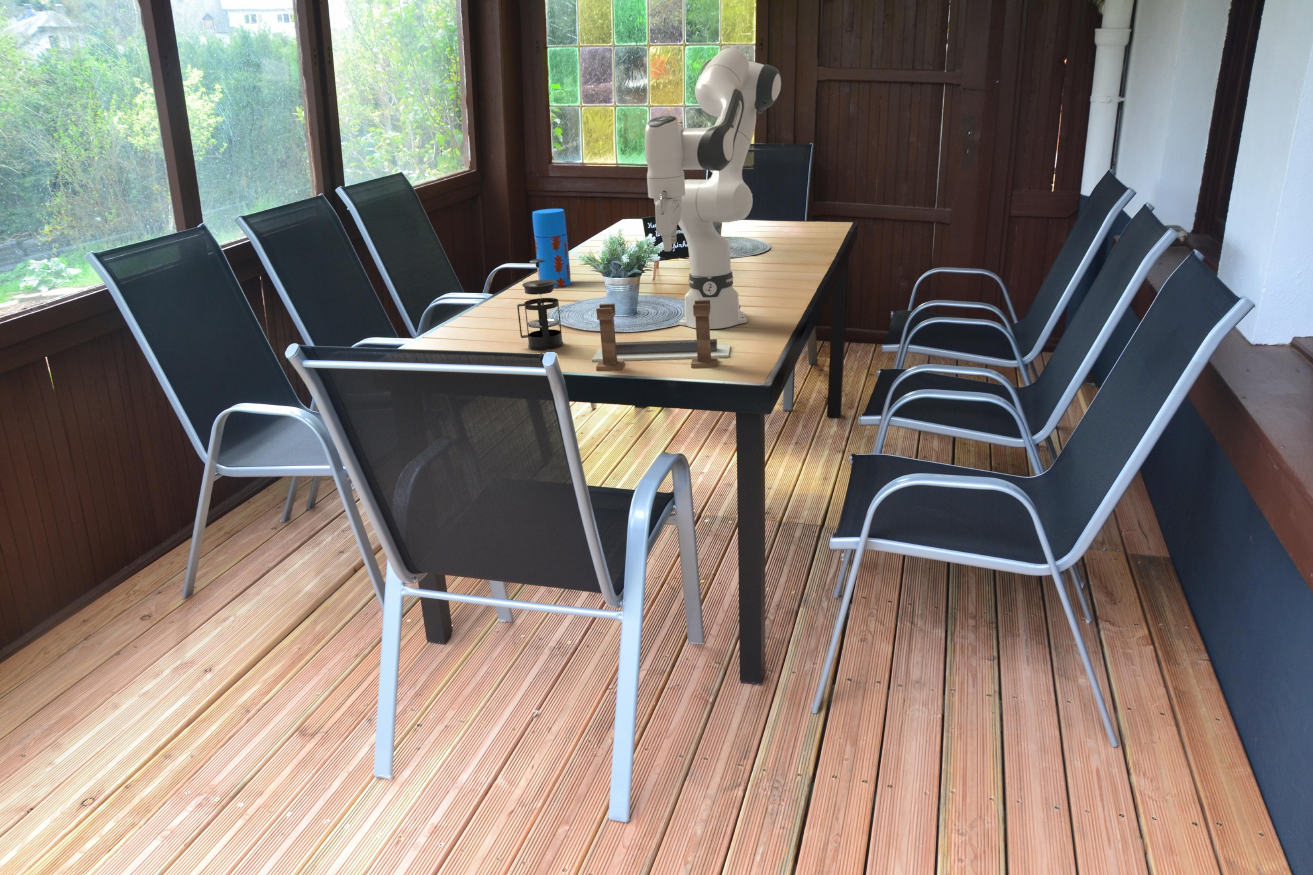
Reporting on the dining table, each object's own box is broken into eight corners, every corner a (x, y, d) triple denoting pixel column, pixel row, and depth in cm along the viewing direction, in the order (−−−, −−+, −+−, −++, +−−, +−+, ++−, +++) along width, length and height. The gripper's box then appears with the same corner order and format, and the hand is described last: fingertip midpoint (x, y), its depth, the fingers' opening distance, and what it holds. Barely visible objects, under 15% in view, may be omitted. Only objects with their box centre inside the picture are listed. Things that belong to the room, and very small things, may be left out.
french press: (563, 339, 277) (555, 254, 269) (567, 347, 268) (559, 260, 260) (520, 344, 275) (511, 259, 267) (523, 352, 266) (513, 265, 258)
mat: (598, 351, 263) (598, 348, 263) (730, 346, 259) (730, 344, 258) (591, 361, 254) (591, 359, 253) (728, 357, 249) (728, 355, 249)
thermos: (537, 284, 352) (529, 211, 344) (567, 280, 355) (560, 207, 347) (543, 289, 342) (535, 214, 334) (574, 285, 345) (567, 211, 337)
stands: (600, 363, 251) (595, 304, 246) (717, 360, 248) (715, 299, 243) (596, 370, 246) (591, 309, 241) (716, 367, 242) (713, 305, 237)
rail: (607, 352, 259) (606, 342, 258) (717, 348, 255) (716, 339, 254) (605, 354, 257) (604, 345, 256) (716, 351, 253) (716, 341, 252)
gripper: (674, 194, 231) (678, 254, 236) (684, 182, 250) (687, 238, 255) (647, 195, 232) (651, 256, 237) (658, 184, 251) (662, 240, 256)
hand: (670, 247), depth 246 cm, fingers open, 8 cm apart
